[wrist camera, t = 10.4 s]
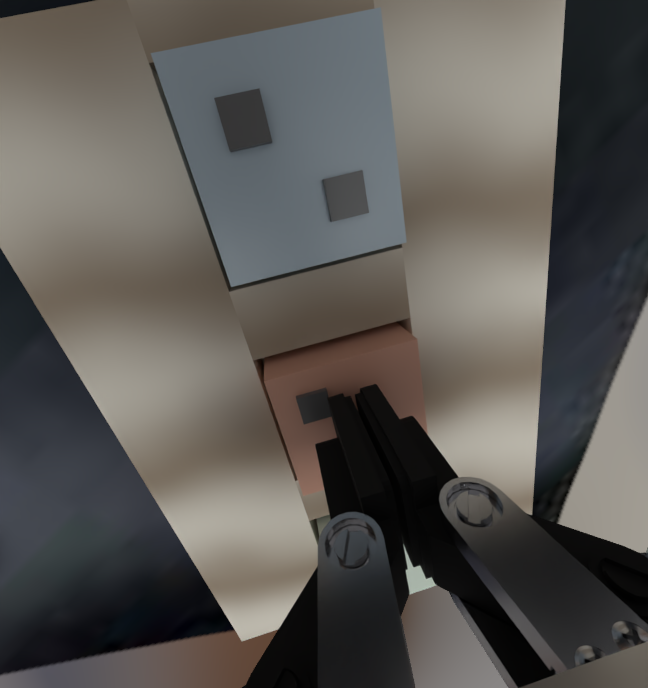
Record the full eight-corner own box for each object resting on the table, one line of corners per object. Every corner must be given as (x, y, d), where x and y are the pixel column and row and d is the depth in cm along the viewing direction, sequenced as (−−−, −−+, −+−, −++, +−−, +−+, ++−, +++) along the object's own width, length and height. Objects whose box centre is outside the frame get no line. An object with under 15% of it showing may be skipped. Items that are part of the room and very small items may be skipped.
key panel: (-10, 94, 9) (-126, 41, 7) (490, -6, 10) (571, -89, 8) (245, 579, 19) (241, 641, 16) (493, 499, 20) (529, 544, 17)
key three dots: (265, 345, 12) (263, 384, 9) (385, 313, 13) (420, 341, 10) (296, 443, 14) (303, 500, 11) (399, 412, 15) (432, 460, 12)
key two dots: (185, 103, 9) (146, 48, 6) (348, 69, 10) (383, 0, 7) (240, 270, 11) (230, 288, 8) (373, 237, 11) (409, 242, 9)
